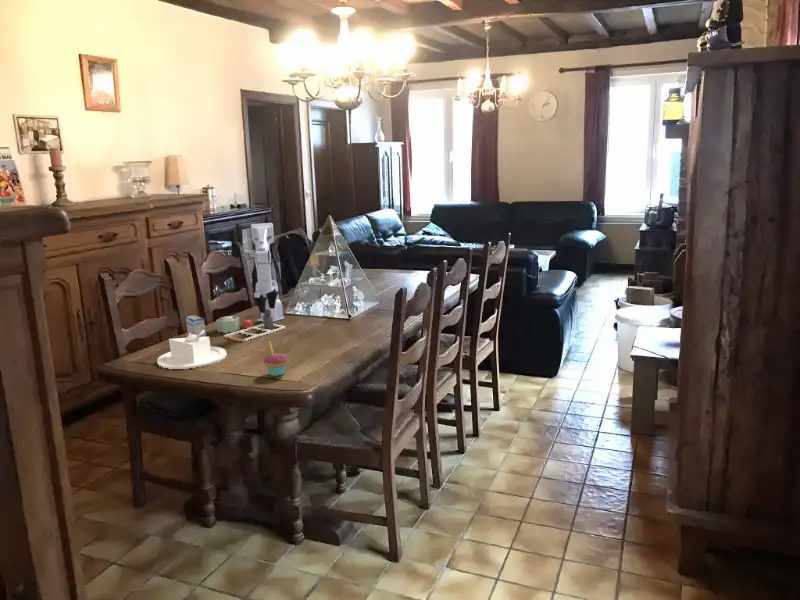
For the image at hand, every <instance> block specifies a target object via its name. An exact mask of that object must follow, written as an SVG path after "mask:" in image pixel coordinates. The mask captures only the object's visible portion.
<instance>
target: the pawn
mask: <svg viewBox="0 0 800 600" xmlns="http://www.w3.org/2000/svg"><path fill="white" fill-rule="evenodd" d="M264 314H265V315H263V320H264V322H263V323H264V326H263V329H267V330H270V329H273V328H274V329H275V327H274V324H275V323H274V322H273V315H272V314H271V311H270V310H269V309H266V310H265V313H264ZM274 329H273V330H274Z"/></svg>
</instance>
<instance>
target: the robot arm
mask: <svg viewBox="0 0 800 600" xmlns="http://www.w3.org/2000/svg"><path fill="white" fill-rule="evenodd" d="M250 234H251V235H250V236H251V240H252V243H253V244H254V245H255V252H254V254H253V255H254V256H253V257H254V264H255V268H256V276H257V277H256V278H257V282H256V283H255V292H254V293H253V294H254V295H253V296H252V297H253V298H252V299H253V300H254V302H255V303H256V305H257V308H258V311H259V313H260V318H259V319H256V320H257V322H260V321H262V322H261V323H264V320H263V315H265V314H264V313H265V310H266V309H269V310H270V311H271V314H272V315H273V323H274V322H277V321H281V320H284V319H285V317H284V313H283V303H282V301H281V300H280V297H279V296H280V293H279V287H278V285H279V284H278V283H277V281H275V280H273V278H272V270H271V268H272V267H271V263H272V258H271V256H272V254H271V250H270V246H271V244H273V243H274V240H275V237H274V236H275V235H274V234H275V233H274V224H273V223H272V222H266V223H262V222H261V223H251V225H250Z"/></svg>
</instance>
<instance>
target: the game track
mask: <svg viewBox="0 0 800 600" xmlns="http://www.w3.org/2000/svg"><path fill="white" fill-rule="evenodd" d="M273 324H274V329H273V330H267V329H264V322H262V323H260V324H258V325H254V326H253V327H250V328H247V329H244V328H243V329H239V330H238V331H237V332H231V333H226V334H223V337H225V338H224V339H228V338H229V339H228V340H232V339H233V340H232V341H236V340H237V341H236V342H240V341H241V343H246V342H249V341H251V340H250V339H252V340H254V339H253V338H256V337H259V336H262V337H264V336H263V335H265V336H267V335H266V334H268V335H271V334H274V333H277V332H276V331H278V332H280V331H279V330H281V331H283V330H282V329H284V330H286V329H287V326H286V325H282V324H280V325H279V324H276V323H273ZM261 326H263V328H262V327H261ZM258 327H260V328H258ZM277 327H279V328H277ZM275 328H276V329H275ZM251 329H253V330H254V329H257V330H256V331H258V330H262V331H261V332H262V333H258V334H257V333H253V332H249V331H248V330H250V331H252V330H251ZM245 331H247V332H245ZM263 331H266V332H263ZM273 332H274V333H273ZM239 333H241V334H240V335H243V334H246V335H245V336H248V335H251V336H248V337H246V338H241V337H237V335H239ZM270 333H271V334H270ZM236 334H237V335H236ZM235 335H236V336H235ZM259 338H260V337H259ZM256 339H257V338H256ZM248 340H249V341H248ZM245 341H246V342H245Z"/></svg>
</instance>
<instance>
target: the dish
mask: <svg viewBox="0 0 800 600" xmlns="http://www.w3.org/2000/svg"><path fill="white" fill-rule="evenodd" d="M204 332H205V333H206V330H205V331H204V330H203V331H202V332H201V333H199V334H198V335H192V334H191V333H190V334H188V333H187V336H186V337H182V338H181V337H178V338H177V337H176V338H168V341H169V343H168V344H169V349H170V351H168V352H166V353H164V354H161V355H159V356H158V358H157V359H156V362H157V366H158V365H159V366H158V367H160V366H161V367H160V368H162V367H163V368H162V369H165V368H168V369H167V370H172V369H184V370H190V369H189V368H193V369H197V368H196V367H199V368H203V367H202V366H204V367H208V366H207V365H209V366H211V365H214V364H217V363H219V362H221V361H223V360H224V359H225V358H226V357H227V355H228V354H227V351H226V349H225V348H222V347H219V346H213V345H211V341H210V336H206V337H199V336H200V335H201V334H203V333H204ZM225 356H226V357H225ZM222 359H223V360H222ZM220 360H221V361H220ZM216 362H217V363H216ZM213 363H214V364H213ZM210 364H211V365H210Z"/></svg>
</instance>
